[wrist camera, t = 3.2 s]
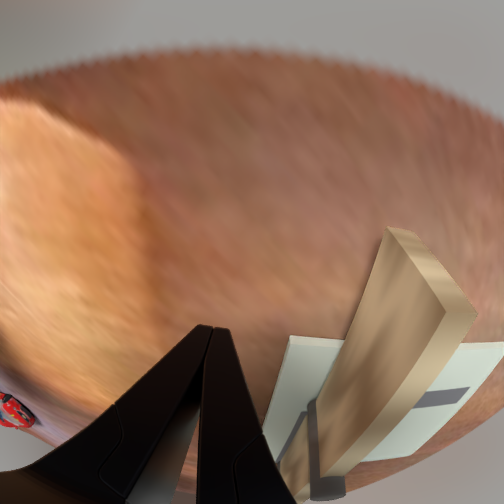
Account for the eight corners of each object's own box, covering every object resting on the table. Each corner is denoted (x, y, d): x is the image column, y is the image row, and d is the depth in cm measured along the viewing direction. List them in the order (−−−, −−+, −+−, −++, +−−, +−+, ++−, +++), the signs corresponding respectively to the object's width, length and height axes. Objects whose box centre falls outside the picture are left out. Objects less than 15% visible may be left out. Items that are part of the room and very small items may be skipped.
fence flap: (331, 412, 16) (338, 500, 11) (304, 411, 16) (305, 501, 11) (416, 230, 10) (501, 338, 5) (377, 222, 10) (453, 340, 5)
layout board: (408, 451, 22) (410, 456, 21) (252, 455, 22) (252, 461, 21) (505, 341, 14) (509, 347, 14) (290, 335, 14) (290, 344, 14)
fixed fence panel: (292, 460, 22) (291, 525, 16) (275, 459, 22) (272, 525, 16) (326, 407, 17) (332, 502, 11) (302, 406, 17) (304, 503, 11)
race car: (17, 393, 24) (4, 416, 21) (43, 419, 27) (32, 442, 23) (-20, 382, 27) (-31, 399, 23) (1, 405, 29) (-9, 422, 26)
